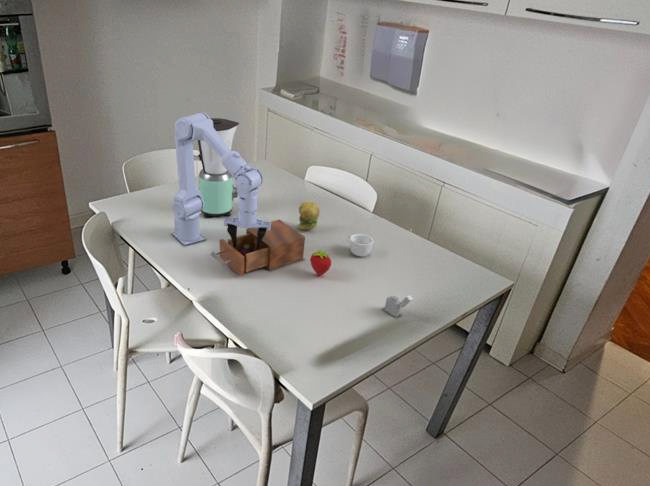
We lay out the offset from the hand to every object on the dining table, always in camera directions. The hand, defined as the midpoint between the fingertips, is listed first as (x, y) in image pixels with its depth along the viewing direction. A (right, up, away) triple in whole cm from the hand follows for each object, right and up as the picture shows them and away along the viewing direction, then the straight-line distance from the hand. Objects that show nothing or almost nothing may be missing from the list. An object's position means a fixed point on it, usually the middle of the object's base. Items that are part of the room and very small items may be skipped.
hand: (246, 247), depth 167 cm
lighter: (+42, -20, -17) cm, 50 cm away
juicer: (-12, +15, +35) cm, 40 cm away
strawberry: (+23, -9, -1) cm, 25 cm away
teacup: (+38, -1, +12) cm, 40 cm away
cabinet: (+9, -2, +9) cm, 13 cm away
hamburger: (+22, +7, +24) cm, 34 cm away
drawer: (-2, -5, +2) cm, 6 cm away
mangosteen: (0, -4, +2) cm, 4 cm away
